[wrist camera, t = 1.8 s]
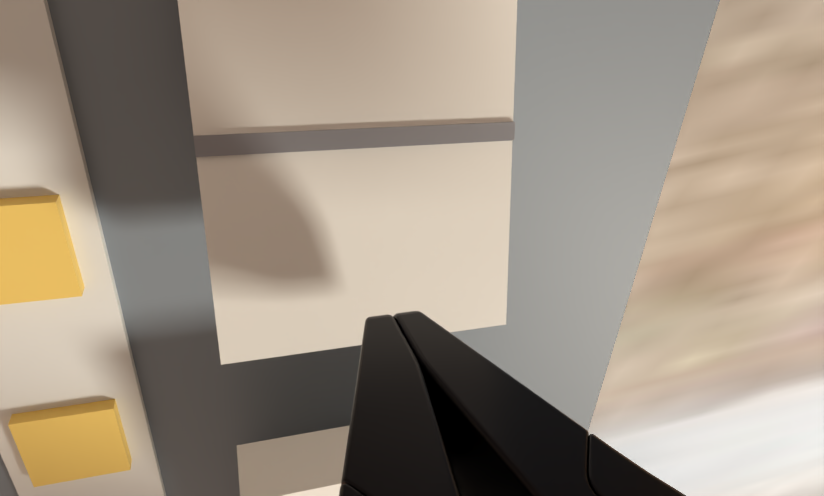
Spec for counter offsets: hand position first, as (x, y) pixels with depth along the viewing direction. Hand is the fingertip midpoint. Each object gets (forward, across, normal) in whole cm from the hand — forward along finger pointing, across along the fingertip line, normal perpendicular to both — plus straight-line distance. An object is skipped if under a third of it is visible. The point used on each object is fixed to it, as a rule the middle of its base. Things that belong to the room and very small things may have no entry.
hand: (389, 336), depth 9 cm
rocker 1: (+2, 0, -2) cm, 3 cm away
